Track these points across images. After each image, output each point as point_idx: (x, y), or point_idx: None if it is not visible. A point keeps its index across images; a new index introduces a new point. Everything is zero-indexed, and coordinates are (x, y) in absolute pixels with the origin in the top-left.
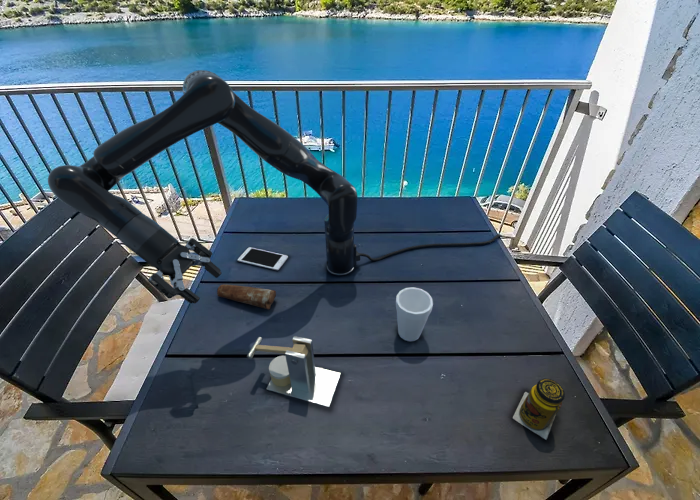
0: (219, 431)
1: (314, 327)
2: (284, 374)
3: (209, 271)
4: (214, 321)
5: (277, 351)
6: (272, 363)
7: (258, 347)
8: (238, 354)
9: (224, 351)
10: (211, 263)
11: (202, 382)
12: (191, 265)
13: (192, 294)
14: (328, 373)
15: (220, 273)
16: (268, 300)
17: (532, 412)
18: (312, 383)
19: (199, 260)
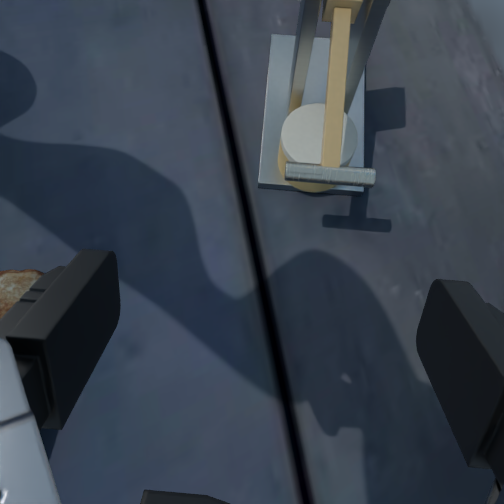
0: (498, 272)
1: (125, 134)
2: (343, 119)
3: (87, 364)
4: (136, 496)
5: (345, 73)
6: (317, 162)
7: (336, 150)
8: (265, 327)
9: (263, 381)
10: (1, 336)
11: (388, 397)
12: (186, 495)
13: (486, 316)
14: (279, 58)
15: (100, 250)
16: (41, 273)
17: None
18: (316, 87)
19: (35, 423)
